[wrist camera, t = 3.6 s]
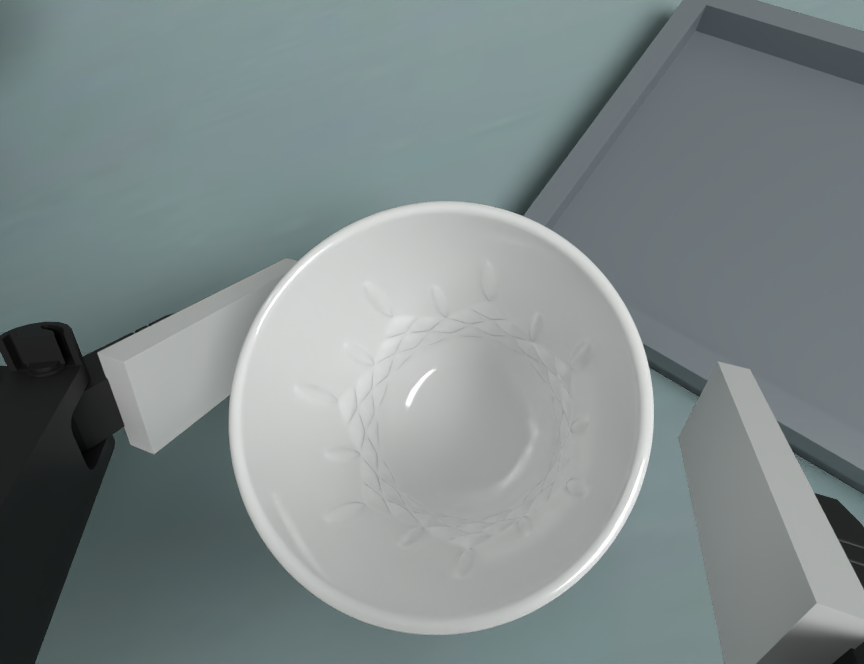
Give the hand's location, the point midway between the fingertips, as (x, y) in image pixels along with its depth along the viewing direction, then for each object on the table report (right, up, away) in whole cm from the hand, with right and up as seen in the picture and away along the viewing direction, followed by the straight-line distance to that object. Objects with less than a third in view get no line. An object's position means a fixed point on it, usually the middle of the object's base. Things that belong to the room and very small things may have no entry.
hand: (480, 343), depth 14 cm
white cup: (0, -4, +4) cm, 5 cm away
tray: (+14, +4, +3) cm, 15 cm away
